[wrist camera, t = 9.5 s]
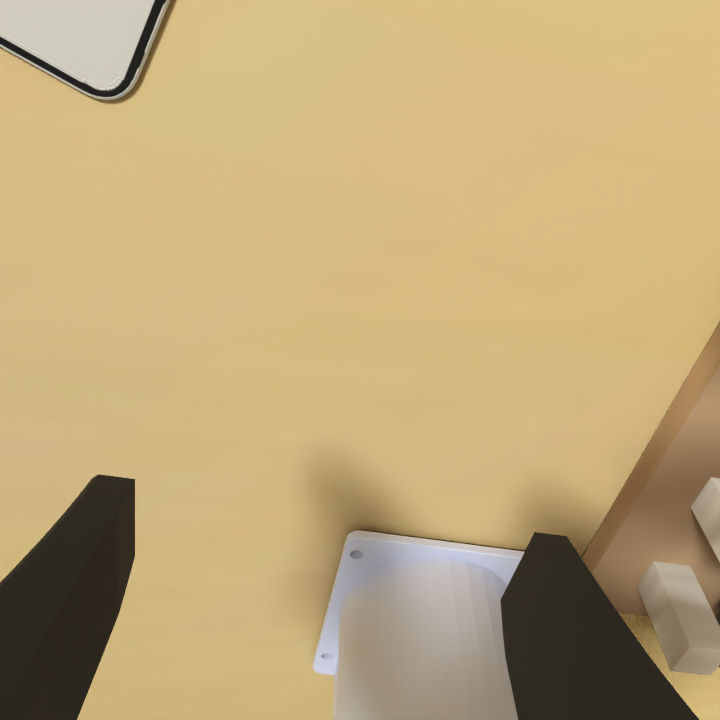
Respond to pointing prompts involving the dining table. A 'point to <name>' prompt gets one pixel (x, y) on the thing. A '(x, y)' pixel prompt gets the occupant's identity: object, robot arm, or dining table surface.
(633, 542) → the board
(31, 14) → the smartphone
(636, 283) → the dining table surface
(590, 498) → the dining table surface
